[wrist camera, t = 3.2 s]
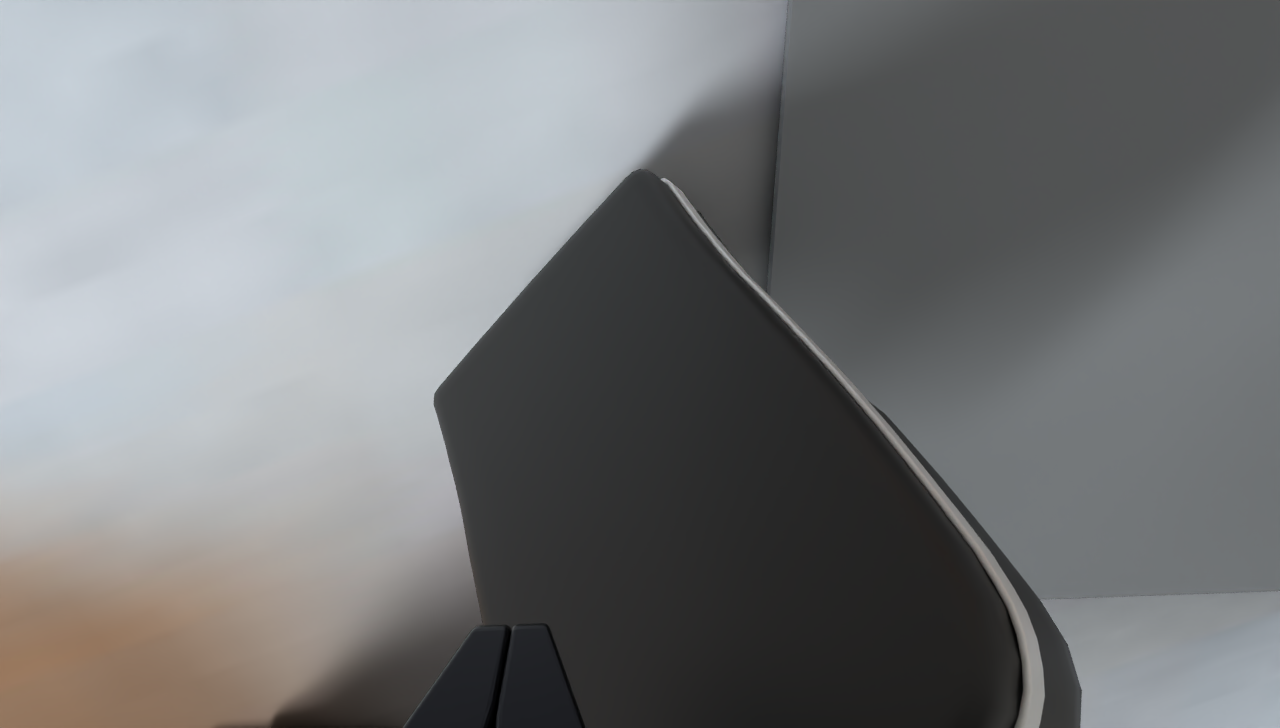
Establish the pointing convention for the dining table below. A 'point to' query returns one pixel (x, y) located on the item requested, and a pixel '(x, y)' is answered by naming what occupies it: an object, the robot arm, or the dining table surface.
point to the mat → (1053, 268)
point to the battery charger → (724, 506)
